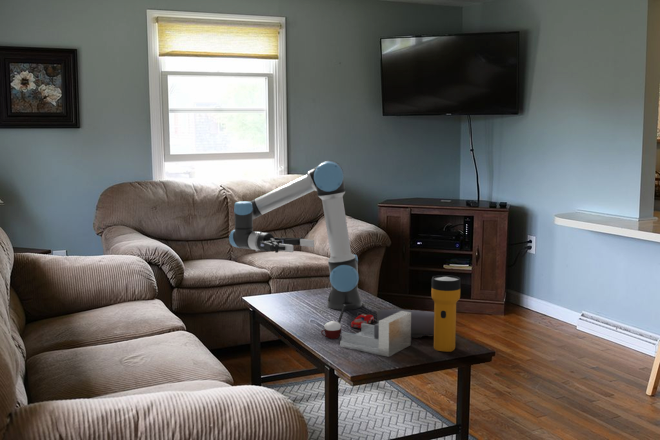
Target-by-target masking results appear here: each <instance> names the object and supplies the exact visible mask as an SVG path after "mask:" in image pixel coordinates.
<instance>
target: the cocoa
mask: <svg viewBox="0 0 660 440" xmlns="http://www.w3.org/2000/svg"><path fill="white" fill-rule="evenodd" d="M345 307H346V306H345V305H343V308H342V310H341V311H340V314H339V317H338V320H337V321H334V320H331V321H328V322H326V323H325V324H324V329H321V331H320V332H321V335H322V336H323V337H326V338H327V339H329V340H336V339H338V338H340V336H341V334H342V325H341V322H342V319H343V316H344V312H345V311H346V310H345ZM323 333H324V334H323Z"/></svg>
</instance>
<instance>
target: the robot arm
mask: <svg viewBox="0 0 660 440" xmlns="http://www.w3.org/2000/svg"><path fill="white" fill-rule="evenodd" d="M344 178H345V177H344V171H343V168H342V165H340V163H338V162H337V161H334V160H330V159H329V160H325V161H324V160H323V161H322V162H321V163H319V164H318V165H317V166H315V167H314V168H312V169H310V170H307V173H306V174H305V175H302V176H300V177H298V178H296V179H294V180H292V181H289V182H288V183H286V184H284V185H282V186H279V187H277V188H276V189H273V190H271V191H269V192H267V193H265V194H262V195H261V196H258V197H256V198H255V199H253V200H250V201H244V200H243V201H236V202H235V203H234V209H233V212H234V213H233V214H234V229H233V230H231V232H230V234H229V237H228V240H229V244H230V246H232V247H234V248H238V249H244V250H245V249H248V250H255V252H259V251H261V252H275V253H277V254H278V253H279V252H285V253H294V246H300V247H301V246H302V247H310V248H315V240H314V239H306V238H304V237H303V236H300V237H282V236H281V237H275V236H274V235H273V234H272V233H270V232H262V231H254V227H253V226H254V224H253V223H254V220H255V219H256V218H259V217H260V216H262V215H264V214H267V213H268V212H271V211H274V210H275V209H278V208H280V207H282V206H284V205H286V204H288V203H291V202H292V201H295V200H297V199H299V198H301V197H304V196H305V195H307V194H309V193H312V192H314V191H315V192H316V193H317V197H319V199H321V201H322V208H323V215H324V221H325V227H326V228H325V229H326V234H327V240H328V246H329V252H330V257H329V258H328V259H327V264H328V269H329V282H330V288H331V289H330V292H329V294H328V298H327V304H326V305H327V307H328V308H329V309H333V310H341V311H342V308H343V305H345V306H346V307H345V310H344V311H346V310H347V311H349V310H356V309H359V308H362V306H363V305H362V298H361V295H360V292H359V287H358V284H359V280H360V278H359V276H360V275H359V270H358V268H359V267H358V266H359V265H358V264H359V259H358V255H357V254H354V253H352V249H351V243H350V237H349V230H348V225H347V223H348V222H347V217H346V210H345V205H344V198H343V197H344V195H345V193H346V186H345V185H346V184H345V179H344Z"/></svg>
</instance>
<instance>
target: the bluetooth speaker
mask: <svg viewBox="0 0 660 440" xmlns="http://www.w3.org/2000/svg"><path fill="white" fill-rule="evenodd" d="M400 311H406V312H411V338H418V337H420V338H422V337H423V336H434V311H429V310H428V311H427V310H418V309H417V310H415V309H412V310H411V309H391V308H389V309H387V308H386V309H385V308H384V309H378V310H377V318H376V324H377V323H379V321H380V320H382V319H384V318H387V317H389V316H391V315H393V314H395V313H398V312H400Z"/></svg>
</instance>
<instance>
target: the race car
mask: <svg viewBox="0 0 660 440" xmlns="http://www.w3.org/2000/svg"><path fill="white" fill-rule="evenodd" d="M374 322H375V317H374V315H373V314H369V313H367V314H366V313H361V314H359V315H358V316H357V317H354V320H352V321H351V322H350V327H351V328H354V329H361V324H362V323H364V324H370V325H373V323H374Z"/></svg>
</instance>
